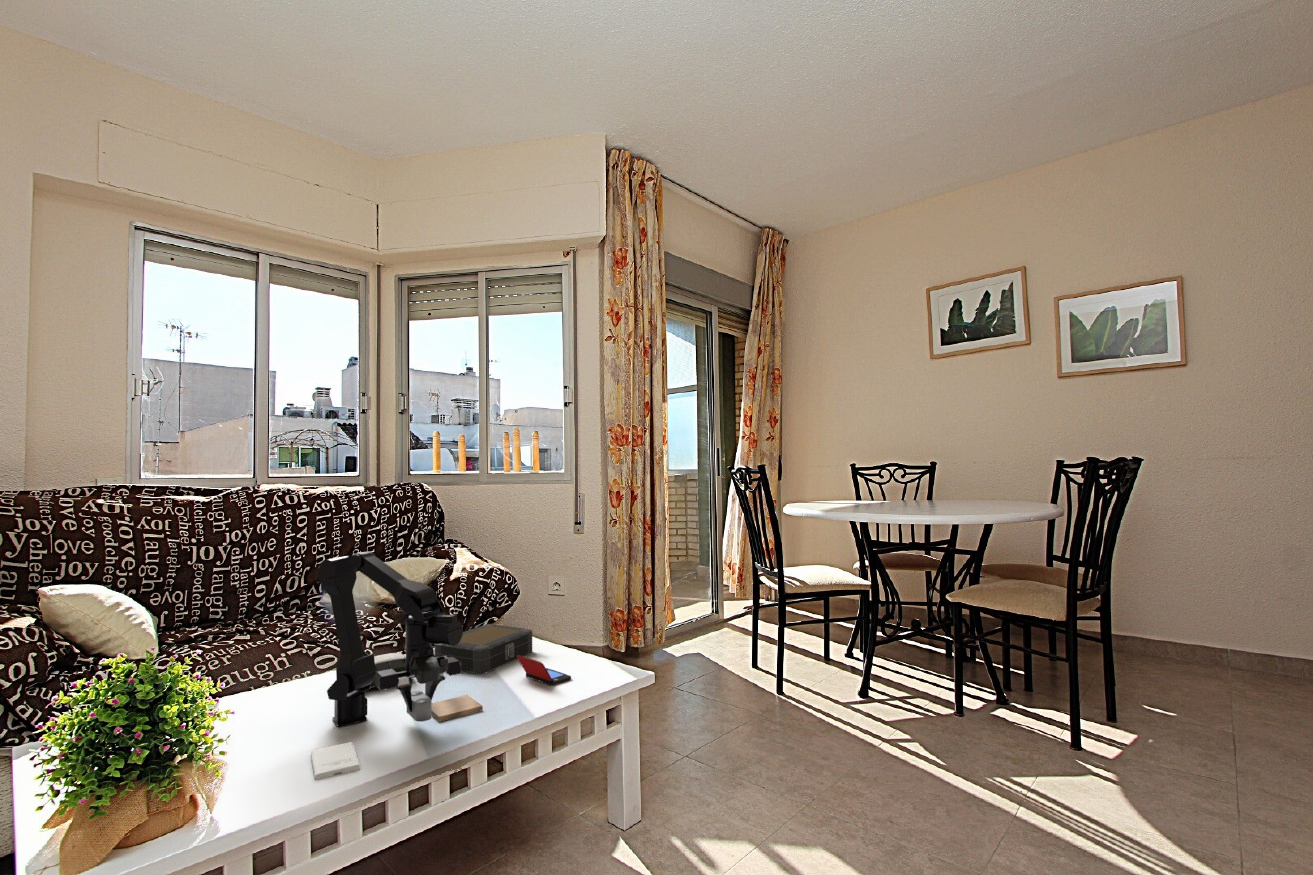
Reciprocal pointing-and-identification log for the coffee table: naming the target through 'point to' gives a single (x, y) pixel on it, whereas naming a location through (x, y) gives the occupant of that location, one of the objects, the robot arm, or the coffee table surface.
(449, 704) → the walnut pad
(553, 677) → the handheld game console
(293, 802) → the coffee table surface
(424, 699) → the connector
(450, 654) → the cash box
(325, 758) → the external hard drive
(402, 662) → the miniature car
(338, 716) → the robot arm
